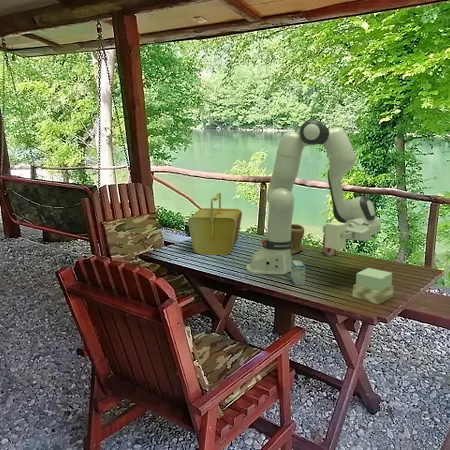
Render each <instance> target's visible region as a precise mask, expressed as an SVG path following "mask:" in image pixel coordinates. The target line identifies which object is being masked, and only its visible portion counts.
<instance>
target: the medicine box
mask: <svg viewBox="0 0 450 450" xmlns="http://www.w3.org/2000/svg"><path fill="white" fill-rule="evenodd" d="M305 278H306V265H305V264H304V263H303V262H302V260H292V261H291V272H290V280H291V282H292V283H293V285H295V286H305V280H306V279H305Z"/></svg>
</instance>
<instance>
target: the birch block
mask: <svg viewBox="0 0 450 450" xmlns="http://www.w3.org/2000/svg"><path fill="white" fill-rule="evenodd" d="M393 296H394V285H391V286H389V287H387V288H386V289H384V290H382V291H376V290H372V289H367V288H363V287H359V286H356V283H355V284H353V285H352V296H351V297H353V298H356V299H359V300H363V301H366V302H369V303H372V304H376V305H380V304H382V303H383V302H385V301H388V300H390V299H392V298H394V297H393Z"/></svg>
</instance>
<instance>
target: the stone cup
mask: <svg viewBox="0 0 450 450" xmlns="http://www.w3.org/2000/svg"><path fill="white" fill-rule="evenodd" d="M304 235H305V227H304V226H303V225H300V224H297V223H291V240H292V251H291V255H292V254H298V253H299V252H301V251H303V250H304V249H305V246H304V245H302V244H301V243H302V240H303V238H304Z"/></svg>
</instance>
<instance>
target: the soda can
mask: <svg viewBox="0 0 450 450" xmlns="http://www.w3.org/2000/svg"><path fill="white" fill-rule="evenodd" d="M322 254H323V255H324V256H327V257H333V256H335V255H336V254H337V250H336V249H332V248H327V247H325V233H323V236H322Z"/></svg>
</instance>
